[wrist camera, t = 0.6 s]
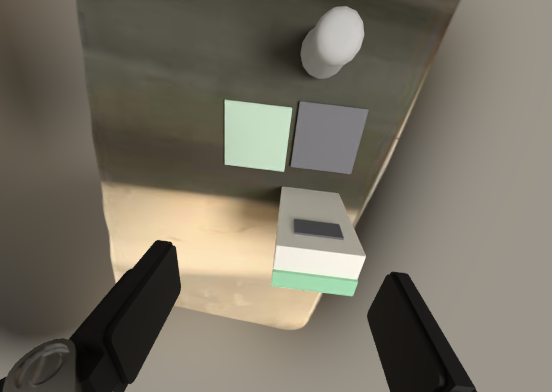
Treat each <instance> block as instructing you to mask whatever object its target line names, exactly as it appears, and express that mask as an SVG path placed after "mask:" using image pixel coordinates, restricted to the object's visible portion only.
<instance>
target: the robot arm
mask: <svg viewBox="0 0 552 392" xmlns="http://www.w3.org/2000/svg"><path fill="white" fill-rule="evenodd" d="M180 290H181V283H180V276H179V268H178V260H177V252H176V247H175V246H173V245H172V242H168V241H161V240H157V241H155V242H154V243H153V245H152V246H151V247H150V248H149V249H148V251H147V252H146V253H145V254H144V255H143V257H142V258H141V259H140V260H139V261H138V263H137V264H136V265H135V266H134V267H133V269H130V270H128V271H127V272H126V273H125V274H124V275H123V276H122V277H121V278H120V280H119V281H118V282H117V283H116V284H115V286H114V287H113V288H112V289H111V290H110V291H109V293H108V294H107V295H106V296H105V297H104V298H103V300H102V301H101V302H100V303H99V304H98V305H97V307H96V308H95V309H94V310H93V311H92V313H91V314H90V315H89V316H88V317H87V319H86V320H85V321H84V322H83V323H82V324H81V325H80V327H79V328H78V329H77V330H76V331H75V333H74V334H73V335H72V336H71V337H70V338H69V339H65V338H60V339H53V340H50V341H47V342H44V343H42V344H40V345H38V346H37V347H35V348H33V349H32V350H30V351H29V352H28V353H26V354H25V355H24V356H23V357H22V358H20V359H19V360H18V361H17V362H16V363H15V365H14V366H13V367H12V369H11V370H10V371H9V373H8V375H7V377H5V378H3V379H1V380H0V392H124V391H125V389H126V387H127V385H128V384H131V383H133V382H134V380H135V379H136V377H137V375H138V373H139V371H140V369H141V367H142V365H143V363H144V362H145V360H146V358H147V356H148V354H149V352H150V350H151V348H152V346H153V344H154V342H155V340H156V338H157V337H158V335H159V333H160V330H161V329H162V327H163V325H164V323H165V321H166V319H167V317H168V315H169V313H170V311H171V309H172V307H173V306H174V304H175V302H176V300H177V298H178V296H179V294H180ZM367 318H368V322H369V326H370V329H371V332H372V335H373V338H374V341H375V345H376V348H377V351H378V354H379V357H380V361H381V364H382V367H383V370H384V373H385V377H386V380H387V383H388V386H389V389H390V392H477V391H476V389H475V386H474V385H473V383H472V381H471V380H470V378H469V376H468V375H467V373H466V371H465V370H464V368H463V366H462V364H461V363H460V361H459V359H458V358H457V356H456V354H455V353H454V351H453V349H452V348H451V346H450V344H449V343H448V341H447V339H446V337H445V336H444V334H443V332H442V331H441V329H440V327H439V326H438V324H437V322H436V320H435V319H434V317H433V315H432V314H431V312H430V310H429V309H428V307H427V305H426V304H425V302H424V300H423V298H422V297H421V295H420V293H419V292H418V290H417V289H416V287H415V285H414V283H413V282H412V280H411V278H410V277H409V275H408V274H406V273H399V272H391V273H390V275H387V276H386V277H385V279H384V281H383V283H382V285H381V287H380V289H379V291H378V293H377V295H376V297H375V299H374V301H373V303H372V305H371V307H370V309H369V311H368V314H367Z"/></svg>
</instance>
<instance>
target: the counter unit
mask: <svg viewBox="0 0 552 392" xmlns="http://www.w3.org/2000/svg"><path fill="white" fill-rule="evenodd" d="M365 258H366V255H365V253H364V251H363V249H362V246H361V244H360V242H359V239H358V237H357V235H356V232H355V230H354V228H353V225H352V223H351V221H350V219H349V216H348V214H347V212H346V209H345V207H344V205H343V202H342V200H341V198H340V196H339V193H332V192H324V191H316V190H307V189H299V188H291V187H283V186H282V190H281V198H280V206H279V213H278V223H277V233H276V243H275V253H274V263H273V273H272V283H271V286H275V287H283V288H291V289H299V290H307V291H315V292H323V293H332V294H339V295H348V296H353V294H354V291H355V289H356V286H357V284H358V281H357V279H358V276H359V273H360V270H361V268H362V265H363V263H364V260H365Z"/></svg>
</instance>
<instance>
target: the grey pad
mask: <svg viewBox="0 0 552 392" xmlns="http://www.w3.org/2000/svg"><path fill="white" fill-rule="evenodd" d="M368 111H369V110H368V109H362V108H353V107H345V106H336V105H328V104H320V103H311V102H303V101H300V104H299V111H298V118H297V125H296V132H295V139H294V146H293V153H292V160H291V167H297V168H305V169H314V170H322V171H330V172H338V173H347V174H351V172H352V168H353V165H354V161H355V158H356V154H357V150H358V147H359V143H360V140H361V136H362V132H363V129H364V125H365V122H366V118H367V114H368Z"/></svg>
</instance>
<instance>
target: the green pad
mask: <svg viewBox="0 0 552 392" xmlns="http://www.w3.org/2000/svg"><path fill="white" fill-rule="evenodd" d="M291 114H292V107H283V106H275V105H266V104H258V103H250V102H241V101H233V100H225V165H234V166H242V167H250V168H258V169H266V170H275V171H283V172H284V168H285V160H286V152H287V144H288V137H289V129H290V121H291Z"/></svg>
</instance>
